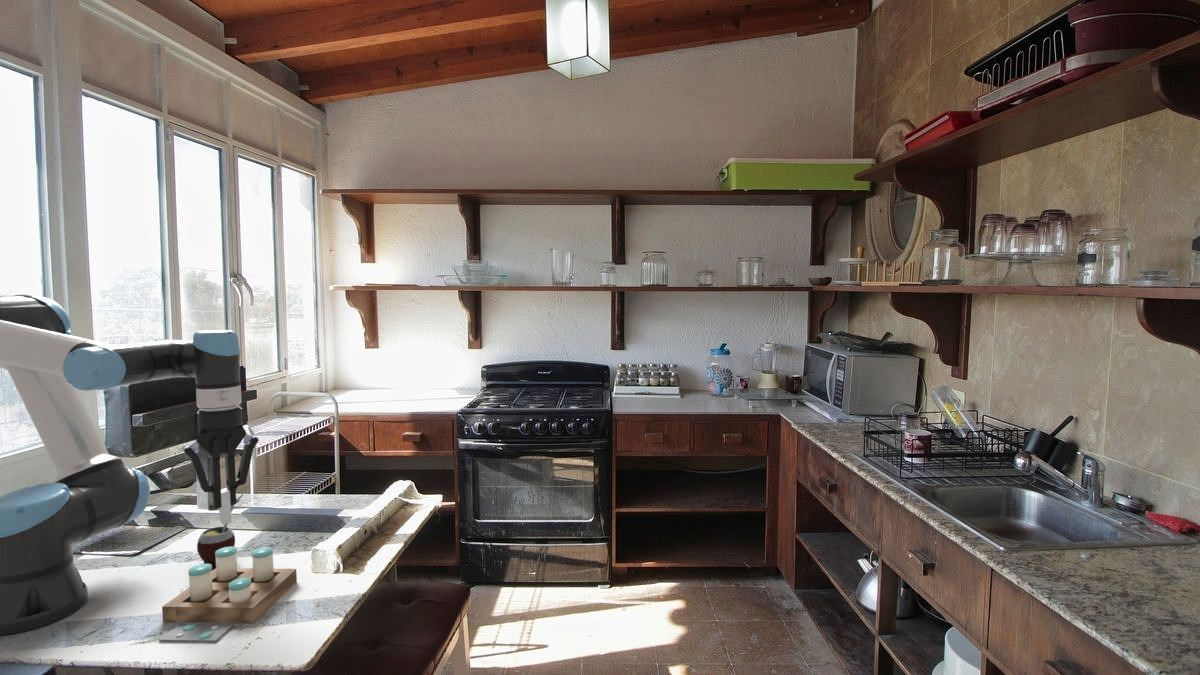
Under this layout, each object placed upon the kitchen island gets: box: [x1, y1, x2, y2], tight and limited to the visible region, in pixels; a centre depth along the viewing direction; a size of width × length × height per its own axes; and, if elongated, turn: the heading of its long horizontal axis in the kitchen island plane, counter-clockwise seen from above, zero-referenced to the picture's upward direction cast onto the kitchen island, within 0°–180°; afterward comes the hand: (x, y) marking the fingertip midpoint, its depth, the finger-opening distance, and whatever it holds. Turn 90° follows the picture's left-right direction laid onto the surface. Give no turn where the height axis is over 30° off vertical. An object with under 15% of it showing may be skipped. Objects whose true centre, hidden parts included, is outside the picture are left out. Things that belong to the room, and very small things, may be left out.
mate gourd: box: [196, 493, 244, 571], centre depth 129 cm, size 8×8×15 cm
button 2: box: [215, 546, 238, 581], centre depth 118 cm, size 4×4×6 cm
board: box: [161, 567, 298, 624], centre depth 114 cm, size 17×15×3 cm
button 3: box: [228, 578, 251, 603], centre depth 110 cm, size 4×4×6 cm
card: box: [158, 622, 235, 644], centre depth 103 cm, size 10×5×1 cm, turn 90°
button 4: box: [251, 546, 274, 582], centre depth 118 cm, size 4×4×6 cm
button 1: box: [188, 563, 213, 601], centre depth 110 cm, size 4×4×6 cm
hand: (225, 521), depth 117 cm, fingers closed
